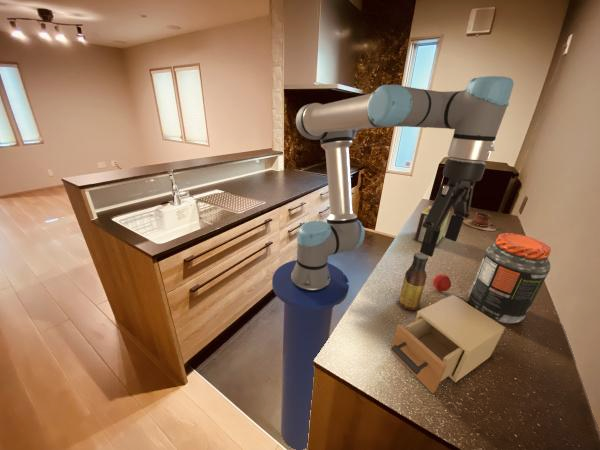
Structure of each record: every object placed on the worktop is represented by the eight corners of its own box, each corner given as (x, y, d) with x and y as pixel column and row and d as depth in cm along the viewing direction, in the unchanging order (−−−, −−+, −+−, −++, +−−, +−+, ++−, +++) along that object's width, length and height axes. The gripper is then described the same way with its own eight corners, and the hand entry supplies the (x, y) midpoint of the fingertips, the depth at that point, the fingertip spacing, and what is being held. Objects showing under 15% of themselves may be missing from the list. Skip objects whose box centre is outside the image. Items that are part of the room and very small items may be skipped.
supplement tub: (513, 301, 88) (546, 237, 78) (530, 333, 75) (572, 260, 65) (463, 288, 94) (487, 226, 84) (470, 315, 81) (500, 246, 70)
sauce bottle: (407, 296, 88) (421, 248, 80) (422, 308, 83) (438, 257, 75) (393, 301, 85) (406, 251, 77) (408, 313, 80) (423, 262, 72)
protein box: (442, 237, 135) (450, 210, 129) (435, 246, 124) (443, 218, 118) (422, 231, 141) (429, 205, 135) (413, 240, 130) (420, 212, 124)
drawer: (420, 402, 54) (430, 375, 51) (378, 356, 64) (384, 331, 61) (469, 367, 63) (481, 341, 59) (425, 331, 73) (433, 307, 69)
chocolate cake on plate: (471, 217, 165) (475, 207, 162) (502, 227, 151) (506, 217, 149) (457, 222, 156) (461, 211, 153) (488, 233, 143) (493, 222, 140)
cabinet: (455, 382, 60) (469, 351, 55) (408, 339, 71) (417, 311, 66) (490, 356, 67) (505, 327, 62) (442, 321, 78) (452, 294, 73)
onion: (430, 284, 95) (436, 267, 92) (447, 289, 93) (453, 271, 90) (430, 293, 90) (436, 275, 87) (448, 298, 88) (455, 280, 85)
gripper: (462, 168, 43) (430, 269, 52) (504, 159, 58) (473, 239, 67) (421, 161, 49) (398, 254, 57) (468, 154, 63) (444, 229, 72)
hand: (438, 246), depth 62 cm, fingers open, 13 cm apart
